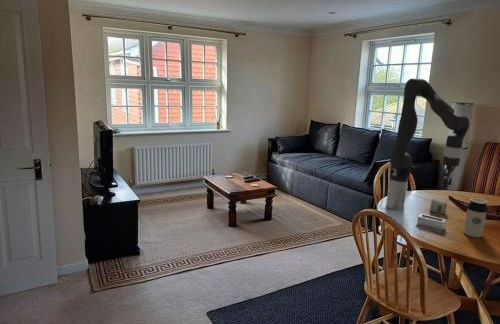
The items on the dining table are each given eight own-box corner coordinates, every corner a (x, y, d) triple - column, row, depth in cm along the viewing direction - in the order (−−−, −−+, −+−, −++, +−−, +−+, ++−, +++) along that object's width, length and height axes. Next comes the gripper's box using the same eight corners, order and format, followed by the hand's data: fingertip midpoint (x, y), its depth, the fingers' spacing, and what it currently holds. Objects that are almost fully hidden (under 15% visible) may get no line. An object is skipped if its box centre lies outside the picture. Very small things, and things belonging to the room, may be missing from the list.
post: (435, 220, 198) (437, 205, 196) (435, 219, 199) (438, 204, 197) (439, 221, 196) (441, 206, 194) (439, 220, 198) (442, 205, 196)
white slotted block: (417, 224, 190) (418, 216, 189) (419, 221, 195) (421, 213, 194) (442, 230, 183) (443, 222, 182) (444, 227, 188) (445, 219, 187)
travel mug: (464, 229, 187) (470, 196, 182) (482, 234, 182) (489, 200, 178) (461, 234, 181) (468, 200, 176) (480, 239, 176) (487, 204, 172)
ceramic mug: (445, 216, 205) (447, 203, 203) (429, 213, 209) (431, 200, 207) (445, 210, 214) (447, 198, 213) (429, 208, 218) (431, 195, 216)
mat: (415, 226, 189) (415, 225, 189) (420, 220, 197) (420, 220, 197) (440, 232, 182) (440, 232, 182) (444, 226, 189) (445, 226, 189)
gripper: (446, 152, 188) (441, 182, 192) (440, 156, 177) (435, 188, 181) (463, 154, 184) (457, 185, 187) (457, 159, 173) (451, 191, 177)
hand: (446, 186), depth 184 cm, fingers open, 8 cm apart
